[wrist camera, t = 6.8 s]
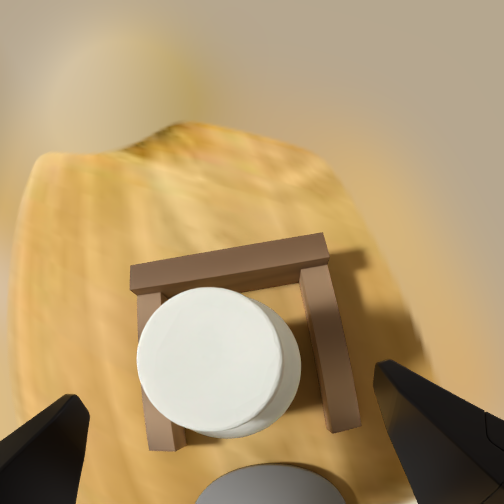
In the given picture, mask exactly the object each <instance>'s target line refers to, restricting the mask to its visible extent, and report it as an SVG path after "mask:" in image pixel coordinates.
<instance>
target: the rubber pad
mask: <svg viewBox="0 0 504 504" xmlns="http://www.w3.org/2000/svg"><path fill="white" fill-rule="evenodd" d="M195 504H346V503H345V500H344V499H343V497H342V496H341V494H340V492H339V491H338V490H337V489H336V487H335V486H334V485H333V484H332V483H330V482H329V481H328V480H327V479H325V478H324V477H322V476H320V475H319V474H317V473H315V472H312V471H310V470H307V469H304V468H301V467H297V466H293V465H286V464H271V463H269V464H257V465H251V466H246V467H242V468H239V469H236V470H233V471H231V472H228V473H227V474H225V475H223V476H221V477H219V478H218V479H216V480H215V481H213V482H212V483H211V484H210V485H209V486H208V487H207V488H206V489H205V490H204V491H203V493H202V494H201V495H200V496H199V498H198V499H197V501H196V503H195Z"/></svg>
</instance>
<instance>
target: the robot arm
mask: <svg viewBox="0 0 504 504" xmlns="http://www.w3.org/2000/svg"><path fill="white" fill-rule="evenodd" d="M373 388H374V392H375V395H376V398H377V401H378V404H379V407H380V410H381V413H382V416H383V420H384V423H385V426H386V429H387V432H388V435H389V437H390V440H391V442H392V444H393V446H394V448H395V451H396V453H397V455H398V457H399V460H400V462H401V464H402V467H403V469H404V471H405V474H406V476H407V478H408V481H409V483H410V485H411V488H412V490H413V493H414V495H415V497H416V500H417V502H418V504H504V420H502V419H500V418H498V417H496V416H494V415H492V414H490V413H488V412H484V410H482V409H480V408H478V407H477V406H475V405H473V404H471V403H469V402H467V401H465V400H464V399H462V398H460V397H458V396H456V395H454V394H452V393H451V392H449V391H447V390H445V389H443V388H442V387H440V386H438V385H436V384H434V383H432V382H431V381H429V380H427V379H425V378H423V377H422V376H420V375H418V374H416V373H414V372H413V371H411V370H409V369H407V368H406V367H404V366H402V365H400V364H398V363H397V362H395V361H393V360H391V359H387V360H383V361H380V362H377V363H376V365H375V372H374V380H373ZM89 420H90V415H89V412H88V410H87V408H86V407H85V406H84V404H83V403H82V401H81V400H80V398H79V397H78V396H77V395H75V394H65V395H64V396H62V397H61V398H59V399H58V400H57V401H55V402H54V403H53V404H51V405H50V406H48V407H47V408H46V409H44V410H43V411H41V412H40V413H39V414H37V415H36V416H35V417H33V418H32V419H30V420H29V421H28V422H26V423H25V424H24V425H22V426H21V427H19V428H18V429H17V430H15V431H14V432H13V433H11V434H10V435H8V436H7V437H6V438H4V439H3V440H2V441H0V504H76V498H77V492H78V487H79V482H80V476H81V471H82V467H83V462H84V457H85V450H86V442H87V434H88V427H89Z"/></svg>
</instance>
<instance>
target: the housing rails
mask: <svg viewBox="0 0 504 504" xmlns="http://www.w3.org/2000/svg"><path fill="white" fill-rule="evenodd" d="M329 258H330V256H329V252H328V249H327V245H326V242H325V238H324V235H323V232H322V233H316V234H310V235H304V236H298V237H292V238H286V239H280V240H275V241H269V242H263V243H257V244H251V245H245V246H239V247H233V248H228V249H222V250H216V251H210V252H205V253H199V254H193V255H187V256H182V257H176V258H170V259H165V260H159V261H153V262H148V263H142V264H136V265H131V266H130V290H131V291H132V292H133V293H134V294H136V295H137V317H138V345H139V340H140V337H141V334H142V331H143V329H144V327H145V325H146V323H147V322H148V320H149V319H150V317H151V316H152V315H153V313H154V312H155V311H156V310H157V309H158V308H159V307H160V306H161V305H162V304H164V303H165V302H166V301H168V300H169V299H171V298H172V297H174V296H176V295H178V294H180V293H182V292H184V291H187V290H190V289H195V288H201V287H216V288H224V289H228V290H232V291H235V292H238V293H239V292H245V291H251V290H257V289H263V288H269V287H275V286H281V285H286V284H292V283H298V282H299V284H300V289H301V294H302V298H303V303H304V308H305V313H306V318H307V323H308V328H309V333H310V338H311V343H312V348H313V353H314V359H315V364H316V369H317V375H318V380H319V386H320V391H321V397H322V403H323V409H324V415H325V421H326V427H327V429H328V430H329V431H330V432H331V433H337V432H342V431H345V430H349V429H353V428H357V427H360V426H361V420H360V414H359V408H358V402H357V396H356V390H355V385H354V380H353V375H352V369H351V364H350V359H349V355H348V350H347V345H346V340H345V336H344V331H343V327H342V322H341V318H340V314H339V310H338V305H337V301H336V297H335V293H334V289H333V285H332V281H331V277H330V273H329V270H328V266H327V264H328V261H329ZM141 389H142V399H143V409H144V417H145V425H146V432H147V439H148V446H149V451H177V450H179V449H181V448H183V447H184V446H186V438H185V432H184V427H183V426H180V425H178V424H176V423H174V422H172V421H171V420H169V419H168V418H166V417H165V416H164V415H163V414H162V413H160V412H159V411H158V410H157V409H156V408H155V407H154V405H153V404H152V403H151V401H150V400H149V398H148V397H147V395H146V393H145V391H144V389H143V387H142V384H141Z"/></svg>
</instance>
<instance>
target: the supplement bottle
mask: <svg viewBox="0 0 504 504" xmlns="http://www.w3.org/2000/svg"><path fill="white" fill-rule="evenodd" d="M137 368H138V375H139V379H140V382H141V384H142V387H143V389H144V391H145V393H146V395H147V397H148V398H149V400H150V401H151V403H152V404H153V405H154V407H155V408H156V409H157V410H158V411H159V412H160V413H162V414H163V415H164V416H165V417H166V418H168V419H169V420H171V421H172V422H174V423H176V424H178V425H180V426H183V427H185V428H188V429H191V430H193V431H195V432H197V433H200V434H203V435H206V436H210V437H215V438H225V439H229V438H240V437H245V436H249V435H252V434H255V433H257V432H259V431H261V430H263V429H265V428H267V427H269V426H270V425H271V424H273V423H274V422H275V421H277V420H278V419H279V418H280V417H281V416H282V415H283V414H284V413H285V411H286V410H287V409H288V407H289V406H290V404H291V402H292V401H293V399H294V397H295V395H296V392H297V389H298V386H299V382H300V376H301V358H300V352H299V348H298V345H297V342H296V340H295V337H294V335H293V333H292V332H291V330H290V328H289V327H288V325H287V324H286V323H285V322H284V320H283V319H282V318H281V317H280V316H279V315H278V314H277V313H276V312H274V311H273V310H272V309H270V308H269V307H267V306H266V305H264V304H263V303H261V302H259V301H256V300H254V299H251V298H248V297H246V296H244V295H242V294H240V293H238V292H235V291H232V290H228V289H224V288H216V287H201V288H195V289H190V290H187V291H184V292H182V293H180V294H178V295H176V296H174V297H172V298H171V299H169V300H168V301H166V302H165V303H164V304H162V305H161V306H160V307H159V308H158V309H157V310H156V311H155V312H154V313H153V315H152V316H151V317H150V319H149V320H148V322H147V323H146V325H145V327H144V329H143V331H142V334H141V337H140V340H139V345H138V349H137Z"/></svg>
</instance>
